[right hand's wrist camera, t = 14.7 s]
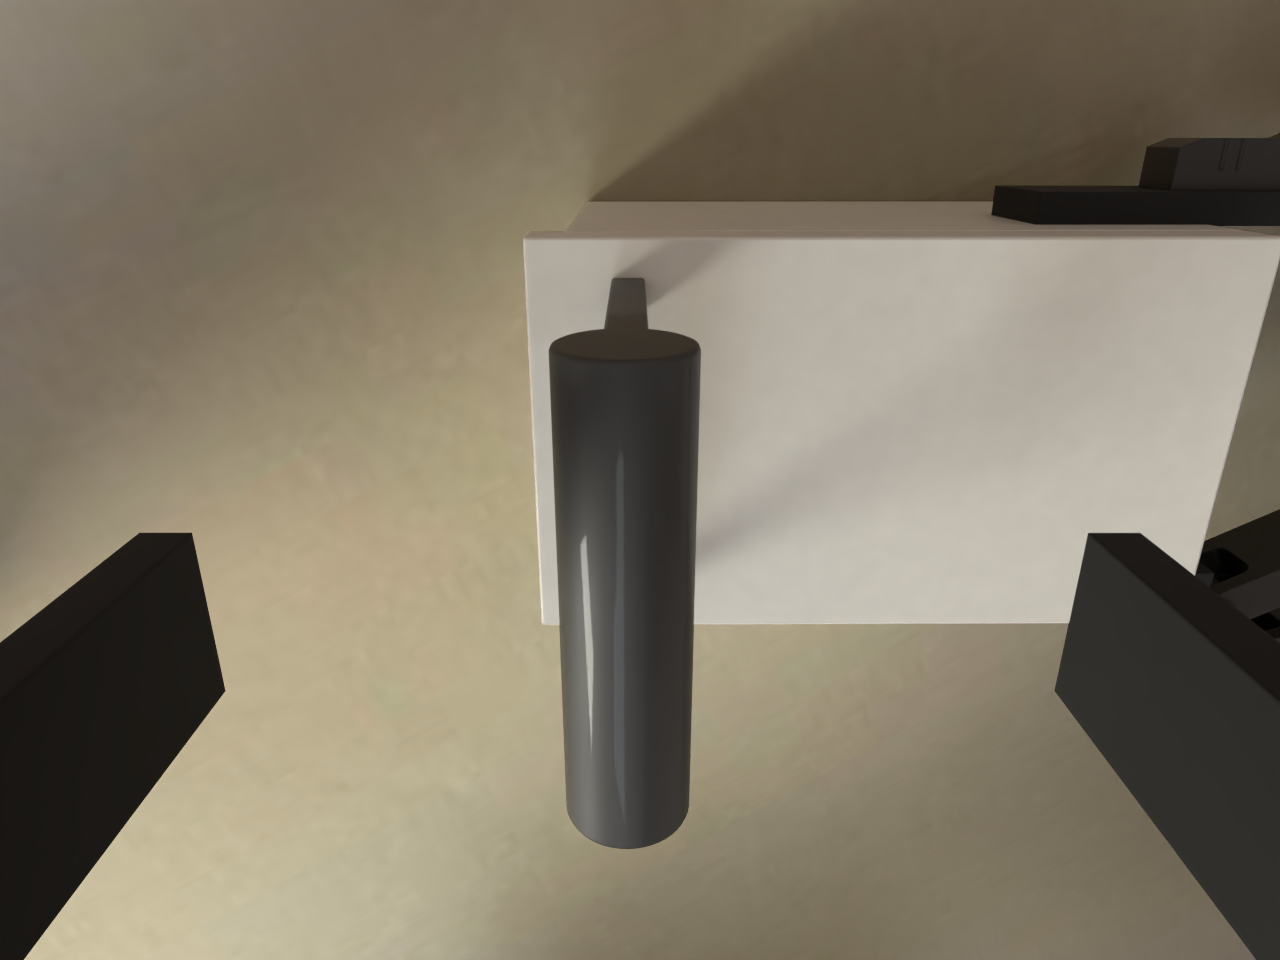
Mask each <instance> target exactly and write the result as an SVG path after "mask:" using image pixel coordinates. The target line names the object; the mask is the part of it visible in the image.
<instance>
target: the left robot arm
mask: <svg viewBox="0 0 1280 960" xmlns="http://www.w3.org/2000/svg"><path fill="white" fill-rule="evenodd" d="M991 215H993V216H998V217H1002V218H1007V219H1012V220H1016V221H1021V222H1026V223H1030V224H1035V225H1213V226H1280V133H1279V134H1277V135H1274V136H1272V137H1268V138H1168V139H1165V140H1163V141H1160V142H1158V143H1155V144H1153V145H1150V146H1148V147H1147V149H1146V153H1145V158H1144V163H1143V168H1142V173H1141V178H1140V183H1139V186H995V193H994V199H993V206H992V213H991ZM1195 576H1196V577H1197V578H1198V579H1200V580H1201V581H1202V582H1203V583H1205V584H1206V585H1207V586H1208V587H1210V588H1211V589H1212V590H1213V591H1215V592H1216V593H1217V594H1219V595H1220V596H1221V597H1222V598H1224V599H1225V600H1226V601H1227V602H1229V603H1230V604H1231V605H1232V606H1234V607H1235V608H1236V609H1238V610H1239V611H1240V612H1241V613H1243V614H1244V615H1245V616H1246V617H1248V618H1249V619H1250V620H1252V621H1253V622H1254V623H1255V624H1257V625H1258V626H1259V627H1260V628H1262V629H1263V630H1264V631H1265V632H1267V633H1268V634H1269V635H1271V636H1272V637H1273V638H1274V639H1276V640H1277V641H1278V642H1279V643H1280V509H1279V510H1277V511H1275V512H1272V513H1270V514H1268V515H1265V516H1263V517H1260V518H1258V519H1256V520H1253V521H1251V522H1249V523H1246V524H1244V525H1242V526H1239V527H1237V528H1234V529H1232V530H1230V531H1227V532H1225V533H1223V534H1220V535H1218V536H1216V537H1213V538H1211V539H1208V540H1206V541H1204V544H1203V548H1202V552H1201V555H1200V559H1199V563H1198V567H1197V570H1196V574H1195Z"/></svg>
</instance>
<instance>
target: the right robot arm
mask: <svg viewBox="0 0 1280 960" xmlns="http://www.w3.org/2000/svg"><path fill="white" fill-rule="evenodd" d="M224 692H225V687H224V682H223V677H222V673H221V668H220V663H219V659H218V654H217V649H216V644H215V640H214V635H213V630H212V625H211V621H210V616H209V611H208V607H207V602H206V597H205V592H204V588H203V583H202V578H201V574H200V569H199V564H198V559H197V555H196V550H195V545H194V541H193V536H192V533H139V534H138V535H136V536H135V537H134V538H132V539H131V540H130V541H129V542H127V543H126V544H125V545H124V546H122V547H121V548H120V549H119V550H117V551H116V552H115V553H113V554H112V555H111V556H110V557H108V558H107V559H106V560H105V561H103V562H102V563H101V564H100V565H98V566H97V567H96V568H94V569H93V570H92V571H91V572H89V573H88V574H87V575H86V576H84V577H83V578H82V579H80V580H79V581H78V582H77V583H75V584H74V585H73V586H72V587H70V588H69V589H68V590H67V591H65V592H64V593H63V594H61V595H60V596H59V597H58V598H56V599H55V600H54V601H53V602H51V603H50V604H49V605H48V606H46V607H45V608H44V609H42V610H41V611H40V612H39V613H37V614H36V615H35V616H34V617H32V618H31V619H30V620H28V621H27V622H26V623H25V624H23V625H22V626H21V627H20V628H18V629H17V630H16V631H15V632H13V633H12V634H11V635H9V636H8V637H7V638H6V639H4V640H3V641H2V642H1V643H0V960H24V959H25V957H26V956H27V955H28V953H29V952H30V951H31V949H32V948H33V947H34V945H35V944H36V943H37V941H38V940H39V939H40V937H41V936H42V935H43V933H44V932H45V931H46V929H47V928H48V927H49V925H50V924H51V923H52V921H53V920H54V919H55V917H56V916H57V915H58V913H59V912H60V911H61V909H62V908H63V907H64V905H65V904H66V903H67V901H68V900H69V899H70V897H71V896H72V895H73V893H74V892H75V891H76V889H77V888H78V887H79V885H80V884H81V883H82V881H83V880H84V879H85V877H86V876H87V875H88V873H89V872H90V871H91V869H92V868H93V867H94V865H95V864H96V863H97V861H98V860H99V859H100V857H101V856H102V855H103V853H104V852H105V851H106V849H107V848H108V847H109V845H110V844H111V843H112V841H113V840H114V839H115V837H116V836H117V835H118V833H119V832H120V831H121V829H122V828H123V827H124V825H125V824H126V823H127V821H128V820H129V819H130V817H131V816H132V815H133V813H134V812H135V811H136V809H137V808H138V807H139V805H140V804H141V803H142V801H143V800H144V799H145V797H146V796H147V795H148V793H149V792H150V791H151V789H152V788H153V787H154V785H155V784H156V783H157V781H158V780H159V779H160V777H161V776H162V775H163V773H164V772H165V771H166V769H167V768H168V767H169V765H170V764H171V763H172V761H173V760H174V759H175V757H176V756H177V755H178V753H179V752H180V751H181V749H182V748H183V747H184V745H185V744H186V743H187V741H188V740H189V739H190V737H191V736H192V735H193V733H194V732H195V731H196V729H197V728H198V727H199V725H200V724H201V723H202V721H203V720H204V719H205V717H206V716H207V715H208V713H209V712H210V711H211V709H212V708H213V707H214V705H215V704H216V703H217V701H218V700H219V699H220V697H221V696H222V695H223V693H224ZM1055 692H1056V693H1057V695H1058V696H1059V697H1060V699H1061V700H1062V701H1063V703H1064V704H1065V705H1066V707H1067V708H1068V709H1069V711H1070V712H1071V713H1072V715H1073V716H1074V717H1075V719H1076V720H1077V721H1078V723H1079V724H1080V725H1081V727H1082V728H1083V729H1084V731H1085V732H1086V733H1087V735H1088V736H1089V737H1090V739H1091V740H1092V741H1093V743H1094V744H1095V745H1096V747H1097V748H1098V749H1099V751H1100V752H1101V753H1102V755H1103V756H1104V757H1105V759H1106V760H1107V761H1108V763H1109V764H1110V765H1111V767H1112V768H1113V769H1114V771H1115V772H1116V773H1117V775H1118V776H1119V777H1120V779H1121V780H1122V781H1123V783H1124V784H1125V785H1126V787H1127V788H1128V789H1129V791H1130V792H1131V793H1132V795H1133V796H1134V797H1135V799H1136V800H1137V801H1138V803H1139V804H1140V805H1141V807H1142V808H1143V809H1144V811H1145V812H1146V813H1147V815H1148V816H1149V817H1150V819H1151V820H1152V821H1153V823H1154V824H1155V825H1156V827H1157V828H1158V829H1159V831H1160V832H1161V833H1162V835H1163V836H1164V837H1165V839H1166V840H1167V841H1168V843H1169V844H1170V845H1171V847H1172V848H1173V849H1174V851H1175V852H1176V853H1177V855H1178V856H1179V857H1180V859H1181V860H1182V861H1183V863H1184V864H1185V865H1186V867H1187V868H1188V869H1189V871H1190V872H1191V873H1192V875H1193V876H1194V877H1195V879H1196V880H1197V881H1198V883H1199V884H1200V885H1201V887H1202V888H1203V889H1204V891H1205V892H1206V893H1207V895H1208V896H1209V897H1210V899H1211V900H1212V901H1213V903H1214V904H1215V905H1216V907H1217V908H1218V909H1219V911H1220V912H1221V913H1222V915H1223V916H1224V917H1225V919H1226V920H1227V921H1228V923H1229V924H1230V925H1231V927H1232V928H1233V929H1234V931H1235V932H1236V933H1237V935H1238V936H1239V937H1240V939H1241V940H1242V941H1243V943H1244V944H1245V945H1246V947H1247V948H1248V949H1249V951H1250V952H1251V953H1252V955H1253V956H1254V957H1255V959H1256V960H1280V643H1279V642H1278V641H1277V640H1276V639H1274V638H1273V637H1272V636H1271V635H1269V634H1268V633H1267V632H1265V631H1264V630H1263V629H1262V628H1260V627H1259V626H1258V625H1257V624H1255V623H1254V622H1253V621H1252V620H1250V619H1249V618H1248V617H1246V616H1245V615H1244V614H1243V613H1241V612H1240V611H1239V610H1238V609H1236V608H1235V607H1234V606H1232V605H1231V604H1230V603H1229V602H1227V601H1226V600H1225V599H1224V598H1222V597H1221V596H1220V595H1219V594H1217V593H1216V592H1215V591H1213V590H1212V589H1211V588H1210V587H1208V586H1207V585H1206V584H1205V583H1203V582H1202V581H1201V580H1200V579H1198V578H1197V577H1196V576H1194V575H1193V574H1192V573H1191V572H1189V571H1188V570H1187V569H1186V568H1184V567H1183V566H1182V565H1180V564H1179V563H1178V562H1177V561H1175V560H1174V559H1173V558H1172V557H1170V556H1169V555H1168V554H1167V553H1165V552H1164V551H1163V550H1161V549H1160V548H1159V547H1158V546H1156V545H1155V544H1154V543H1153V542H1151V541H1150V540H1149V539H1148V538H1146V537H1145V536H1144V535H1142V534H1141V533H1088V536H1087V541H1086V545H1085V550H1084V555H1083V559H1082V564H1081V569H1080V574H1079V578H1078V583H1077V588H1076V592H1075V597H1074V602H1073V607H1072V611H1071V616H1070V621H1069V625H1068V630H1067V635H1066V640H1065V644H1064V649H1063V654H1062V659H1061V663H1060V668H1059V673H1058V677H1057V682H1056V687H1055Z"/></svg>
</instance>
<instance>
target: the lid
mask: <svg viewBox="0 0 1280 960" xmlns="http://www.w3.org/2000/svg"><path fill="white" fill-rule="evenodd" d="M523 252H524V273H525V293H526V314H527V334H528V355H529V375H530V396H531V416H532V437H533V457H534V478H535V498H536V519H537V540H538V560H539V581H540V601H541V621H542V624H543V625H560V650H561V675H562V701H563V726H564V751H565V776H566V801H567V811H568V814H569V817H570V819H571V821H572V822H573V824H574V826H575V827H576V828H577V829H578V830H579V831H580V832H581V833H582V834H583V835H584V836H586V837H587V838H589V839H590V840H592V841H594V842H596V843H598V844H601V845H604V846H608V847H612V848H619V849H635V848H642V847H646V846H650V845H653V844H656V843H658V842H661V841H662V840H664V839H666V838H668V837H669V836H670V835H672V834H673V833H674V832H675V831H676V830H677V829H678V828H679V827H680V826H681V824H682V822H683V821H684V819H685V817H686V815H687V812H688V808H689V785H690V747H691V710H692V673H693V635H694V624H954V623H1069V621H1070V616H1071V611H1072V607H1073V602H1074V597H1075V592H1076V588H1077V583H1078V578H1079V574H1080V569H1081V564H1082V559H1083V555H1084V550H1085V545H1086V541H1087V536H1088V533H1141V534H1142V535H1144V536H1145V537H1146V538H1148V539H1149V540H1150V541H1151V542H1153V543H1154V544H1155V545H1156V546H1158V547H1159V548H1160V549H1161V550H1163V551H1164V552H1165V553H1167V554H1168V555H1169V556H1170V557H1172V558H1173V559H1174V560H1175V561H1177V562H1178V563H1179V564H1180V565H1182V566H1183V567H1184V568H1186V569H1187V570H1188V571H1189V572H1191V573H1192V574H1193V575H1194V576H1195V574H1196V570H1197V567H1198V563H1199V559H1200V555H1201V552H1202V548H1203V544H1204V541H1205V537H1206V533H1207V529H1208V526H1209V522H1210V518H1211V515H1212V511H1213V507H1214V503H1215V500H1216V496H1217V492H1218V489H1219V485H1220V481H1221V477H1222V474H1223V470H1224V466H1225V463H1226V459H1227V455H1228V451H1229V448H1230V444H1231V440H1232V436H1233V433H1234V429H1235V425H1236V422H1237V418H1238V414H1239V410H1240V407H1241V403H1242V399H1243V396H1244V392H1245V388H1246V384H1247V381H1248V377H1249V373H1250V370H1251V366H1252V362H1253V358H1254V355H1255V351H1256V347H1257V344H1258V340H1259V336H1260V332H1261V329H1262V325H1263V321H1264V318H1265V314H1266V310H1267V306H1268V303H1269V299H1270V295H1271V292H1272V288H1273V284H1274V280H1275V277H1276V273H1277V269H1278V266H1279V262H1280V236H1278V235H1271V234H1265V233H1258V232H1252V231H532V232H530V233H529V234H528V235H527V236H525V237H524V239H523Z"/></svg>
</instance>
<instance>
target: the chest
mask: <svg viewBox="0 0 1280 960" xmlns="http://www.w3.org/2000/svg"><path fill="white" fill-rule="evenodd" d="M992 206H993V201H748V202H587V203H586V204H585V206H584V207H583V208H582V210H581V211H580V212H579V214H578V215H577V217H576V218H575V219H574V221H573V222H572V224H571V225H570V226H569V228H568V229H567V231H1243V230H1239V229H1233V228H1226V227H1220V226H1213V225H1035V224H1030V223H1026V222H1021V221H1016V220H1012V219H1007V218H1002V217H998V216H993V215H991V213H992Z"/></svg>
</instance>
